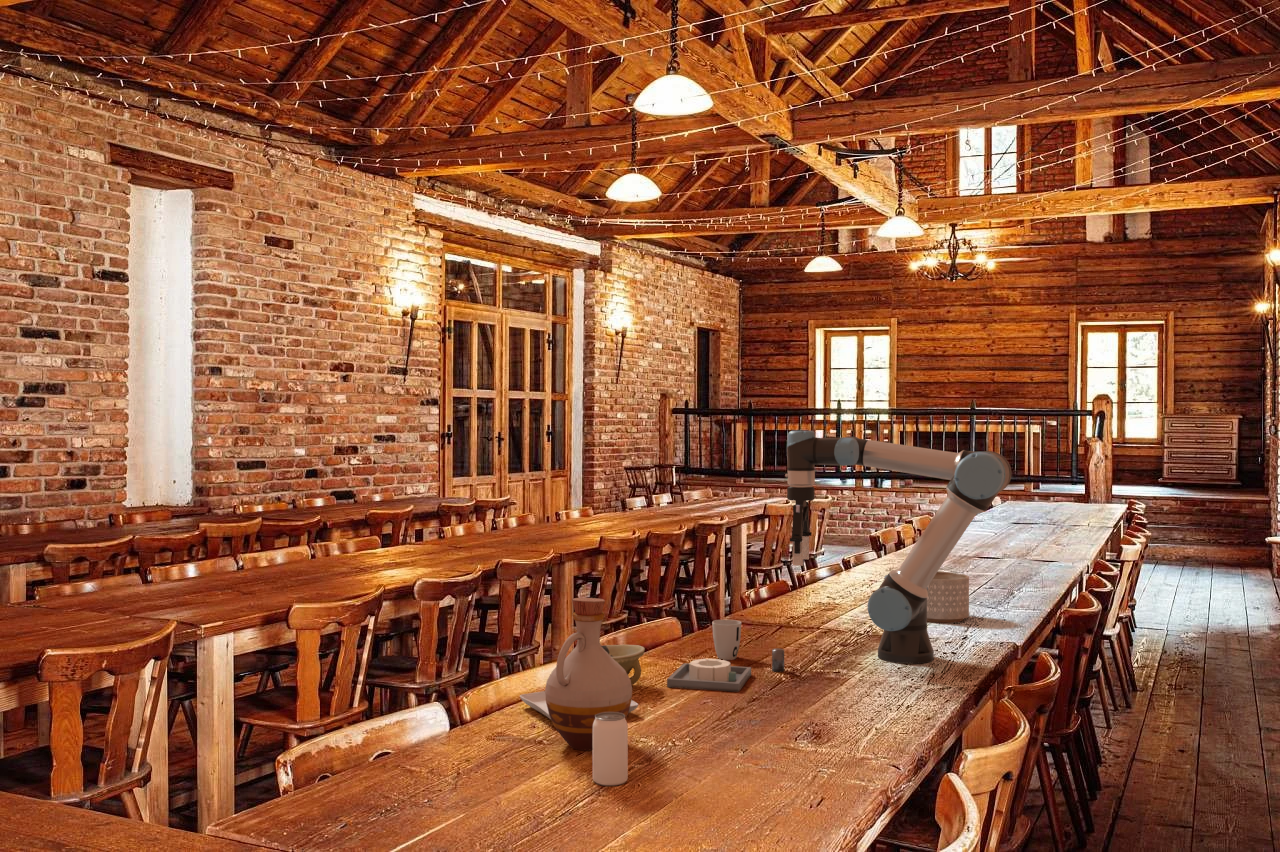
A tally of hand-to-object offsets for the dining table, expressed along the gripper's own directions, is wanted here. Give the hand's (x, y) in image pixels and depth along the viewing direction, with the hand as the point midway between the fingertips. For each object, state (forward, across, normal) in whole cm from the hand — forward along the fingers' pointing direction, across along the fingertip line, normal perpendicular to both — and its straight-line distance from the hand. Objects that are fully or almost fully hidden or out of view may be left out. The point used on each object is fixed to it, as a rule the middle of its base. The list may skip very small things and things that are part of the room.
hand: (800, 562), depth 299 cm
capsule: (+27, +16, -4) cm, 31 cm away
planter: (+27, -72, +37) cm, 85 cm away
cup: (+27, +5, -20) cm, 34 cm away
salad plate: (+27, +68, -42) cm, 84 cm away
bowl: (+27, +44, -42) cm, 67 cm away
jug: (+27, +92, -32) cm, 101 cm away
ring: (+26, +32, -19) cm, 46 cm away
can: (+27, +111, -21) cm, 116 cm away
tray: (+27, +32, -19) cm, 46 cm away
